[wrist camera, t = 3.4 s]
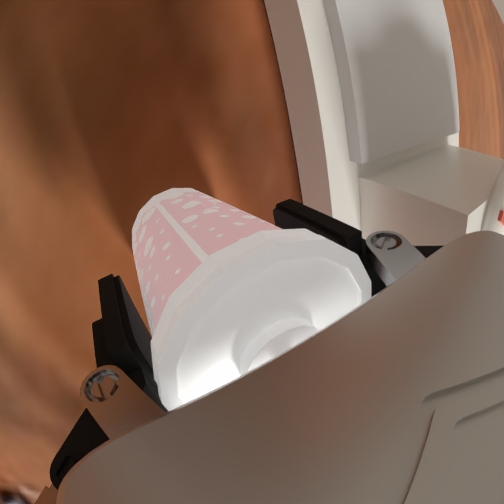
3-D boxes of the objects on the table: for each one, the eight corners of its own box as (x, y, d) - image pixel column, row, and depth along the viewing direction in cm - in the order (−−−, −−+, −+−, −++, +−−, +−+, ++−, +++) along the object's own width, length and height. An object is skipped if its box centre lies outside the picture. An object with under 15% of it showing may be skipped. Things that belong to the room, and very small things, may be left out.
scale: (249, -54, 10) (396, -136, 2) (408, -21, 14) (519, -27, 6) (310, 258, 19) (438, 345, 11) (433, 193, 24) (529, 232, 16)
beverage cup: (162, 313, 16) (322, 574, 4) (88, 223, 12) (195, 640, 1) (256, 245, 17) (492, 427, 6) (202, 144, 13) (584, 285, 2)
